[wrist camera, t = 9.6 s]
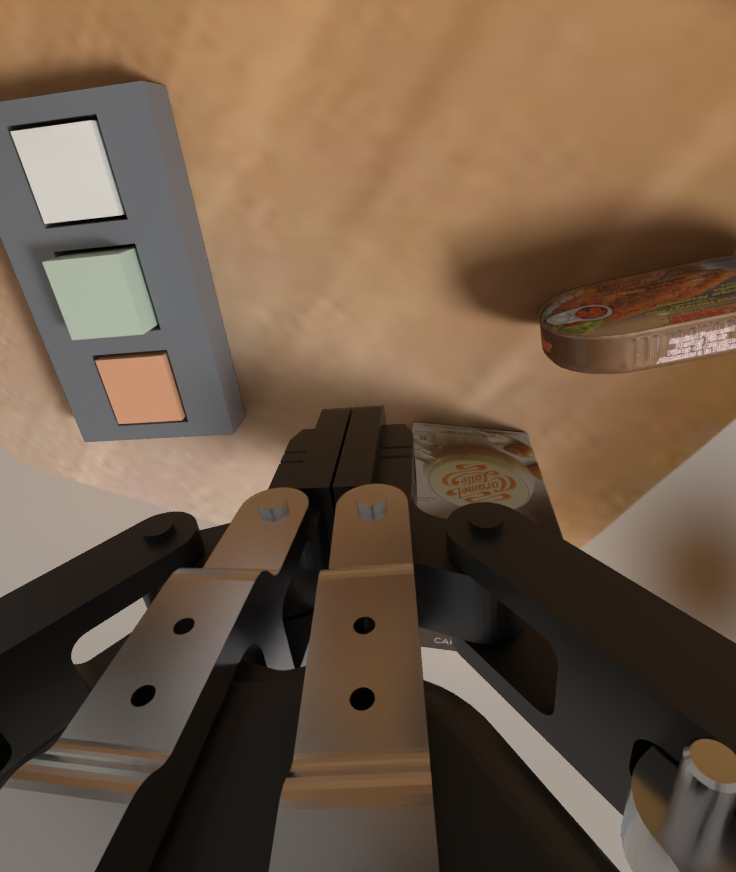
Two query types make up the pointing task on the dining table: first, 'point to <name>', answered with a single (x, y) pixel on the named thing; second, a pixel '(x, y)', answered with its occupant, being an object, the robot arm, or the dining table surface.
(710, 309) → the tin
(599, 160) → the dining table surface
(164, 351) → the terracotta button
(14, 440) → the dining table surface
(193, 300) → the button panel
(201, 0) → the dining table surface
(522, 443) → the coffee box
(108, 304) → the sage button
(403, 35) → the dining table surface
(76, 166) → the offwhite button
